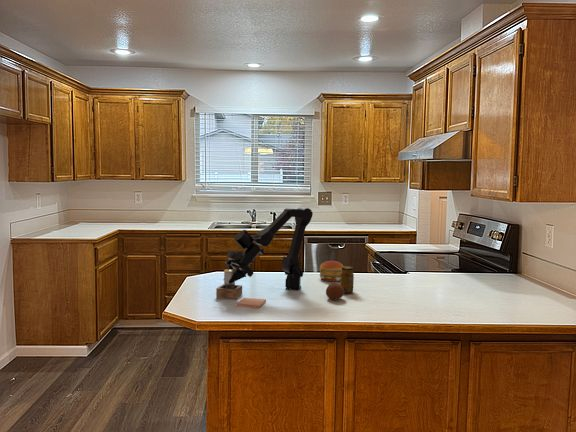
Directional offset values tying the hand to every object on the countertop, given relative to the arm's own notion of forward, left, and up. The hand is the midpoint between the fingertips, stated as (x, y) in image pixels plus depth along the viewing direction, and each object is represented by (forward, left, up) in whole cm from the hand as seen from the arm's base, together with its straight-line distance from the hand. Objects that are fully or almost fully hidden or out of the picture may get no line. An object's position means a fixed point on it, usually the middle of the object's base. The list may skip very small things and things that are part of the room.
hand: (226, 281), depth 234 cm
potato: (-47, -11, -7) cm, 49 cm away
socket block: (-1, -1, -7) cm, 7 cm away
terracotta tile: (-14, +8, -7) cm, 18 cm away
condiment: (-51, -24, -7) cm, 57 cm away
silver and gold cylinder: (-1, -1, -4) cm, 4 cm away
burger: (-40, -50, -7) cm, 64 cm away
